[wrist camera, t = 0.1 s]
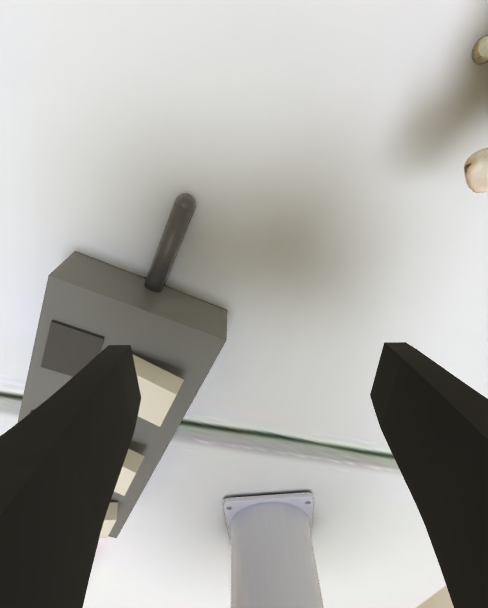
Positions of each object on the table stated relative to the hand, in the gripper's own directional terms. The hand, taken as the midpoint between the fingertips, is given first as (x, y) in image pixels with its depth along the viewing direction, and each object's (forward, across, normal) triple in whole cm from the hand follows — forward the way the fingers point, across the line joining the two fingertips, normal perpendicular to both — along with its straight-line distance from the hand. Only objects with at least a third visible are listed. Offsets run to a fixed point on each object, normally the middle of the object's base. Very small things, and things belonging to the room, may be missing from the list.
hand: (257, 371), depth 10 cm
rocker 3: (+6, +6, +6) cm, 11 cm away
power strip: (+10, +9, +10) cm, 16 cm away
